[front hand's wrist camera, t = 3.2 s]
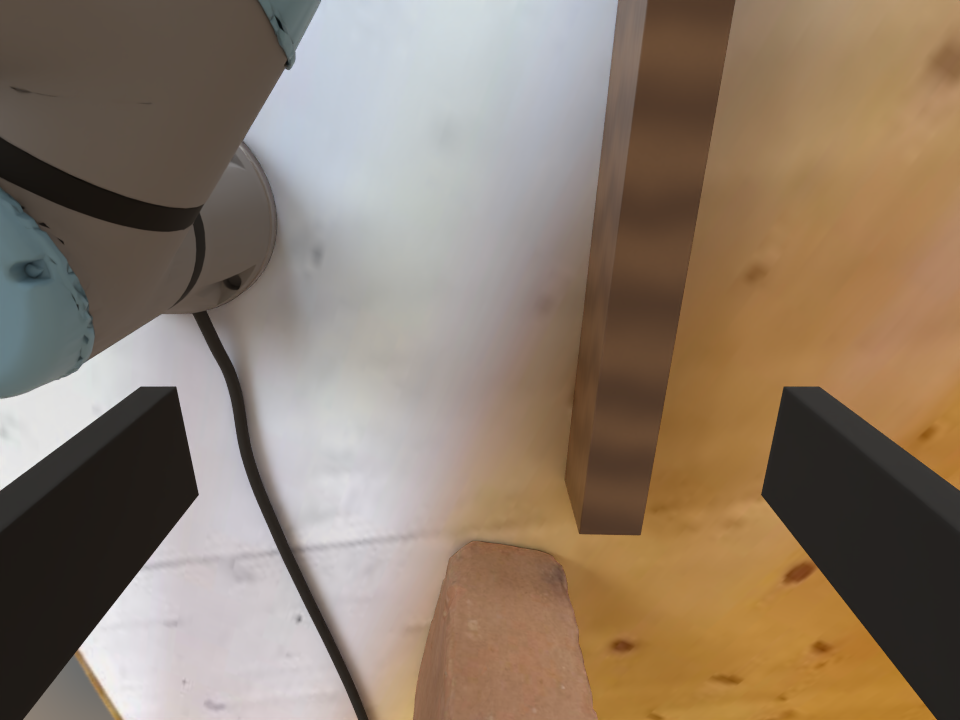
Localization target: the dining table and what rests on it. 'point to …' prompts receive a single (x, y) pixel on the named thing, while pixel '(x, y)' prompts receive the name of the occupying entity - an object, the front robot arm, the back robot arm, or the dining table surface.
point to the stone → (503, 641)
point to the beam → (641, 248)
